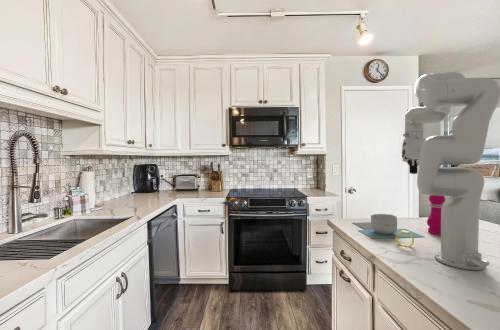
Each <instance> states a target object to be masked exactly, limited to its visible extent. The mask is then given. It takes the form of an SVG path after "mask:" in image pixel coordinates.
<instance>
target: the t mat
mask: <svg viewBox="0 0 500 330" xmlns="http://www.w3.org/2000/svg"><path fill="white" fill-rule="evenodd" d="M353 224H354V225H355V226H357V227H359V228H360V229H358V230H357V231H358V233H361V234H363V235H365V236H367V237H368V238H369V239H372V240H377V239H378V240H380V239H381V240H382V239H384V240H385V239H396V235H397V234H398V233H399V232H401V230H405V231H409V233H410V234H411V235H412V236H413V238H425V236H424V235H421V234H419V233H416V232H414V231H412V230H409V229H407V228H397V230H396V231H395V232H394V233H393V234H389V235H385V234H379V233H377V232H376V231H374V230H373V229H372V225H371V221H370V222H352V225H353ZM407 238H408V239H409V238H411V236H410V235H408V234H403V233H400V234H399V235H398V236H397V239H407ZM411 239H412V238H411Z"/></svg>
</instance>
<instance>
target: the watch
mask: <svg viewBox="0 0 500 330" xmlns="http://www.w3.org/2000/svg"><path fill="white" fill-rule="evenodd" d="M409 231H410V230H409ZM409 231H405V230H401V232H399V233H398V234H397V235H396V238H395V241H396V243H397V244H398V245H399V246H401V247H407V248H410V247H411V246H413V244H414V242H415V239H414V238H415V237H413V236H412V235H411V234H410V233H409ZM400 233H403V234H408V235H410V236H411V240H412V242H411V243H410V244H403V243H401V242H400V241H399V238H397V236H398V235H399V234H400Z"/></svg>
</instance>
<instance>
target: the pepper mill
mask: <svg viewBox="0 0 500 330" xmlns="http://www.w3.org/2000/svg"><path fill="white" fill-rule="evenodd" d="M428 201H429V202H430V203H429V207H431V208H430V209H431V210H430V213H429V216H428V217H427V219H426V224H427V226H428V228H427V232H428V233H429V234H433V235H436V236H437V235H438V236H441V209H442V206H443V204H444V202H445V201H446V196H434V195H428Z"/></svg>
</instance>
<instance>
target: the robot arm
mask: <svg viewBox="0 0 500 330" xmlns="http://www.w3.org/2000/svg"><path fill="white" fill-rule="evenodd" d="M414 95H415V96H416V98H417V99H418V100H419V101H421V102H422V104H423V106H417V107H411V108H409V109H408V111H406V112H405V115H404V133H403V135H402V136H403V137H404V139H403V141H402V146H401V157H402V158H401V159H402V160H401V161H402V162H404V163H407V165H408V166H409V168H408V169H409V171H408V172H409V174H411V175H416V174H417V179H416V184H417V189H418V191H419V192H420V193H421V194H423V195H426V196H430V195H434V196H444V197H447V199H445V202H444V203H443V206H442V209H441V235H440V251H437V252H435V254H434V258H435V260H437V261H438V262H440V263H441V264H445V265H447V266H450V267H453V268H457V269H461V270H462V269H463V270H469V271H480V270H485V269H487V267H488V266H489V265H490V261H487V260H485V259H482V253H480V252H479V234H480V232H479V230H480V229H479V228H480V227H479V225H480V204H481V198H482V194H483V191H484V187H485V178H484V175H483V174H482V173H481V172H480V171H479V170H477V169H474V168H471V167H464V166H465V165H474V164H478V163H479V162H480V161H481V159H482V158H483V155H484V151H485V146H486V142H487V136H488V130H489V126H490V122H491V119H492V117H493V114H494V112H495V110H496V108H497V106H498V105H499V102H500V85H499V83H498V81H496V80H495V79H493V78H489V77H465V75H463V74H462V73H460V72H457V71H447V72H446V71H445V72H437V73H436V72H435V73H427V74H423V75H421V76H420V77H419V78H418V79H417V80H416V82H415V84H414ZM462 106H463V107H464V108H463V109H461V110H460V112H458V114H456V116H455V117H454V119H453V121H452V124H451V130H450V132H449V134H448V135H445V134H444V135H443V134H441V135H432V136H429V137H426V139H425V138H424V125H425V124H437V123H440V122H442V121H444V120H445V119H446V118H447V117H448V116H449V115H450V112H451V109H452V107H462ZM442 165H443V166H445V165H453V166H454V167H453V166H452V167H451V166H449V167H448V166H447V167H442ZM455 165H464V166H463V167H461V166H459V167H457V166H456V167H455Z"/></svg>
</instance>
